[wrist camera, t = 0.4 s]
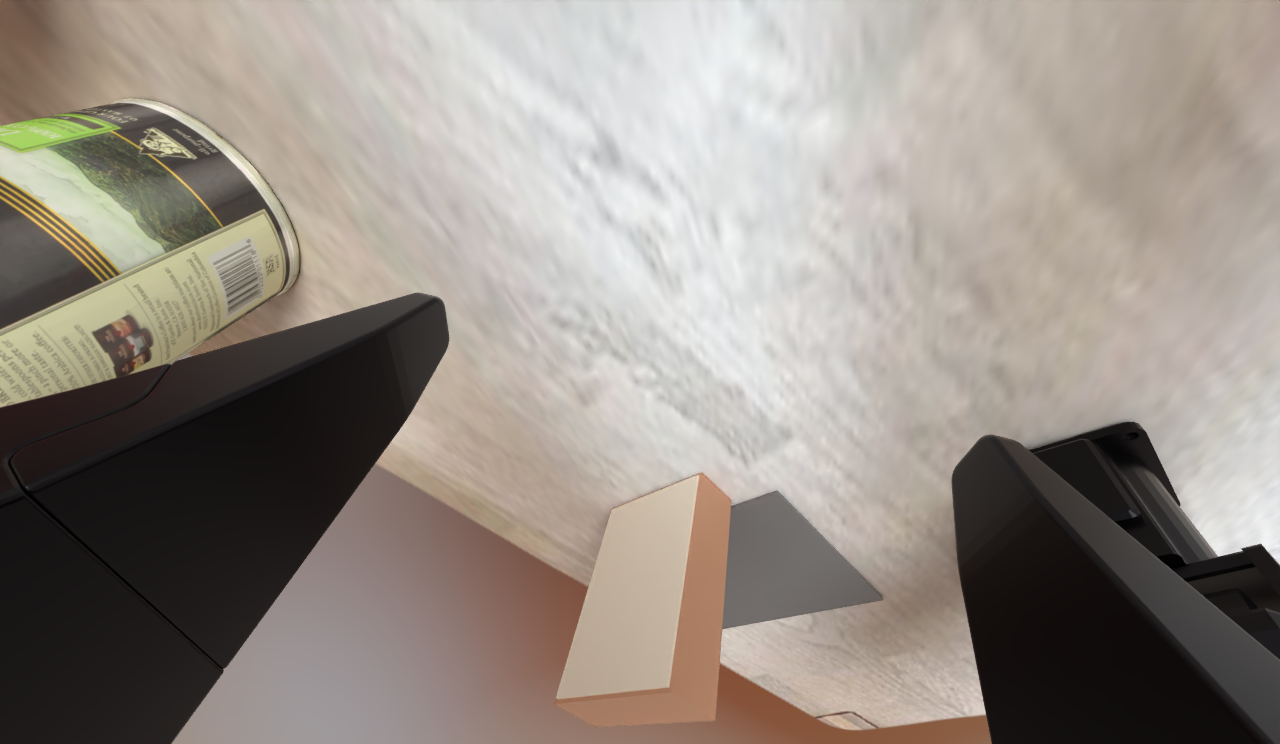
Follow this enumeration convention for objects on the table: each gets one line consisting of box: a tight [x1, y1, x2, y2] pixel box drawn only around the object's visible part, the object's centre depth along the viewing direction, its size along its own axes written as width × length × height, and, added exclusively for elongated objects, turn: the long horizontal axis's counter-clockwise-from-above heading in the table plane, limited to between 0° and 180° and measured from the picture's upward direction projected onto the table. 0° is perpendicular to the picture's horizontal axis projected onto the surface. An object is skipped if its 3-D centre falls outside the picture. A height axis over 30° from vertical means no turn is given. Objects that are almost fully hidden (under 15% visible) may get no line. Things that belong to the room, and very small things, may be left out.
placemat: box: [722, 491, 883, 629], centre depth 35 cm, size 13×14×1 cm
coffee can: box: [0, 98, 299, 407], centre depth 20 cm, size 10×10×14 cm
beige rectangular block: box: [554, 473, 731, 727], centre depth 28 cm, size 3×8×12 cm, turn 132°
